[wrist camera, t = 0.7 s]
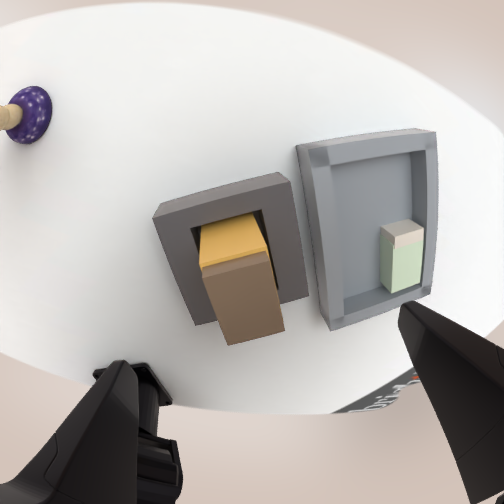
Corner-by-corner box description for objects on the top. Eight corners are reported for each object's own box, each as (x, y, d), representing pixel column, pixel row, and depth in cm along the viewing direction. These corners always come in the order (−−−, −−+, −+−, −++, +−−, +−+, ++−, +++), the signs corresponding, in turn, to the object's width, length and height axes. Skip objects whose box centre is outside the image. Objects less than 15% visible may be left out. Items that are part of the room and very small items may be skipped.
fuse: (407, 271, 23) (420, 283, 21) (379, 281, 23) (391, 294, 21) (409, 218, 21) (424, 227, 19) (379, 226, 21) (393, 237, 19)
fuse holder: (297, 274, 22) (308, 296, 20) (196, 300, 22) (195, 325, 19) (278, 171, 19) (290, 181, 16) (160, 203, 18) (152, 218, 16)
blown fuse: (264, 268, 21) (287, 333, 14) (220, 279, 21) (227, 348, 14) (249, 207, 19) (271, 255, 12) (201, 220, 19) (198, 274, 12)
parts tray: (415, 280, 24) (430, 293, 22) (320, 312, 24) (330, 331, 22) (415, 128, 18) (435, 131, 16) (295, 145, 18) (307, 149, 16)
